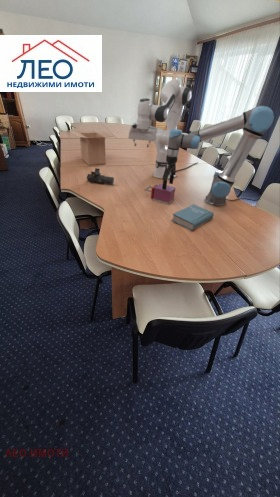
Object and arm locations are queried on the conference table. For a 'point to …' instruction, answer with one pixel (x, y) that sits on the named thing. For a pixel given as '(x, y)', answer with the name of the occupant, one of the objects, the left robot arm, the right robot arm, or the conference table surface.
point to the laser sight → (99, 177)
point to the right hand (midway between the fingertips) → (167, 186)
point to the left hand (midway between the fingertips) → (141, 146)
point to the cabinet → (164, 194)
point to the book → (192, 217)
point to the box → (92, 146)
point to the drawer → (151, 190)
